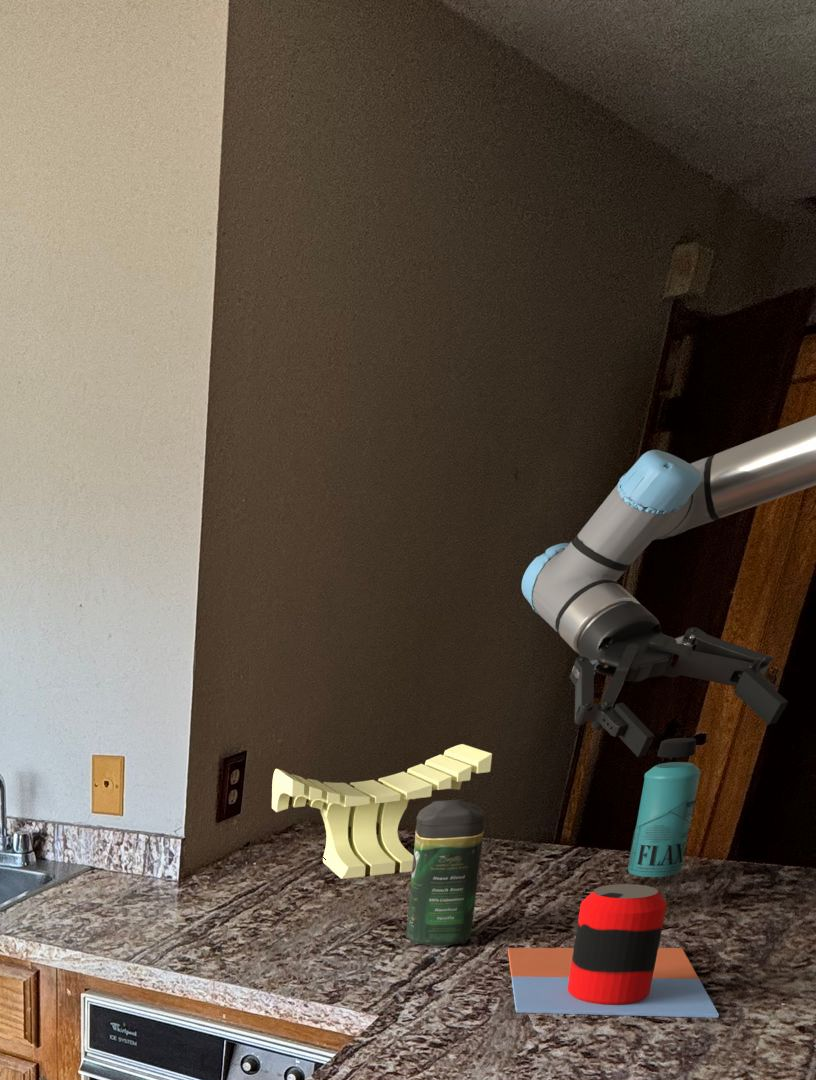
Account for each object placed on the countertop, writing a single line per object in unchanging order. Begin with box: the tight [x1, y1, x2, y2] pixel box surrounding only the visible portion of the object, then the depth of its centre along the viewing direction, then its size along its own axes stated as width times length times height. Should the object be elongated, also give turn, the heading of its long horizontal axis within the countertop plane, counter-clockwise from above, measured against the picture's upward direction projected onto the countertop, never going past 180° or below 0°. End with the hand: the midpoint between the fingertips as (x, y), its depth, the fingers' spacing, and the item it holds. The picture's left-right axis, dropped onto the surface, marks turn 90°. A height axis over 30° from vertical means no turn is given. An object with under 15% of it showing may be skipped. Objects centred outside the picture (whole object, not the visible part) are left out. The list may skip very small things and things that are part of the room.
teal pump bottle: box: [626, 737, 702, 878], centre depth 141 cm, size 6×7×20 cm
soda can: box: [567, 883, 668, 1005], centre depth 111 cm, size 8×8×12 cm
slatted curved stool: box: [271, 743, 493, 880], centre depth 172 cm, size 30×16×18 cm, turn 81°
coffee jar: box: [406, 799, 485, 948], centre depth 135 cm, size 10×8×19 cm
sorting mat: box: [507, 947, 720, 1019], centre depth 117 cm, size 18×22×1 cm
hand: (712, 730), depth 111 cm, fingers open, 13 cm apart
